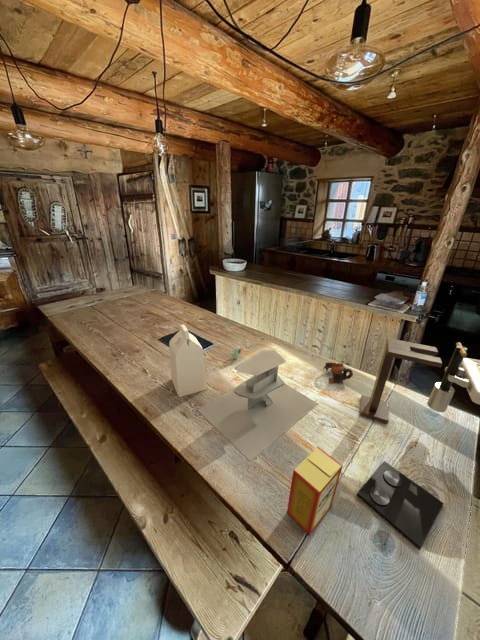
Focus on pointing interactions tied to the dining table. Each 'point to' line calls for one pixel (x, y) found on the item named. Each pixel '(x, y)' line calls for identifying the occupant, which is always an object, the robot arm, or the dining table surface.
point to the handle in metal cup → (446, 382)
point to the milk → (187, 363)
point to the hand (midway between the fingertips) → (446, 373)
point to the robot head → (236, 352)
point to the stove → (401, 503)
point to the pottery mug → (338, 372)
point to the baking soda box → (313, 489)
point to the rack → (397, 349)
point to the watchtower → (257, 406)
